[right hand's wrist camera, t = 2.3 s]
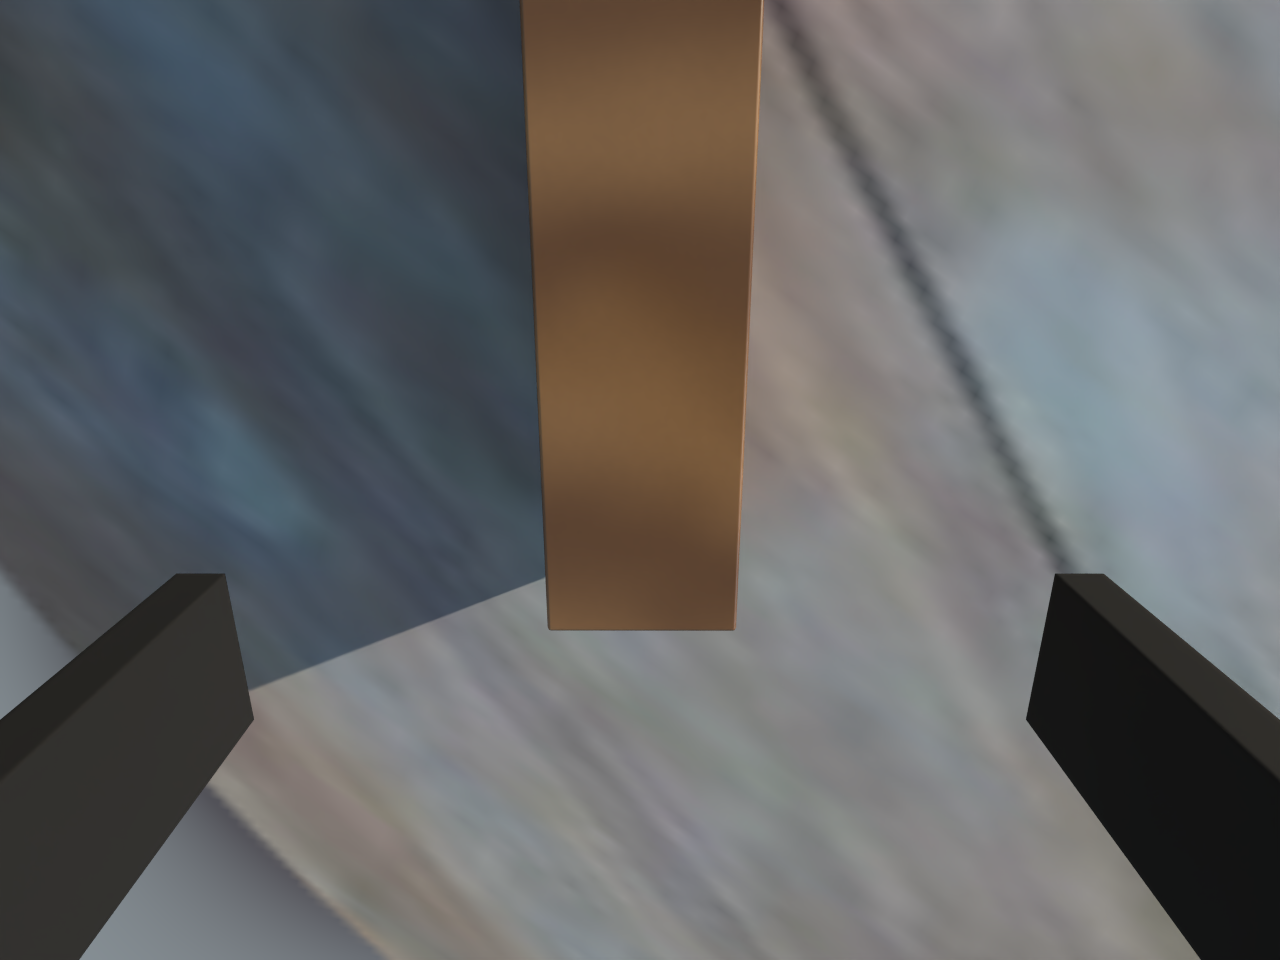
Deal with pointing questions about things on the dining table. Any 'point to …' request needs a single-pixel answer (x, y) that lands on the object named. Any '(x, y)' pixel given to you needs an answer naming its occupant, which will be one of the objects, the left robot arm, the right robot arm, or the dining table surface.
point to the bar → (641, 301)
